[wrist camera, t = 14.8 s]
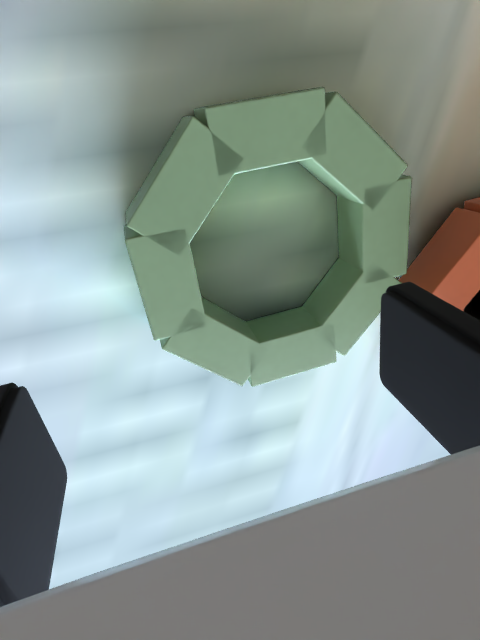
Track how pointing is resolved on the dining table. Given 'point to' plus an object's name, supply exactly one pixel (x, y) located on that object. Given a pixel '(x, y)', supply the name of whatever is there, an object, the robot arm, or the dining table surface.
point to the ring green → (205, 189)
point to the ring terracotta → (451, 258)
